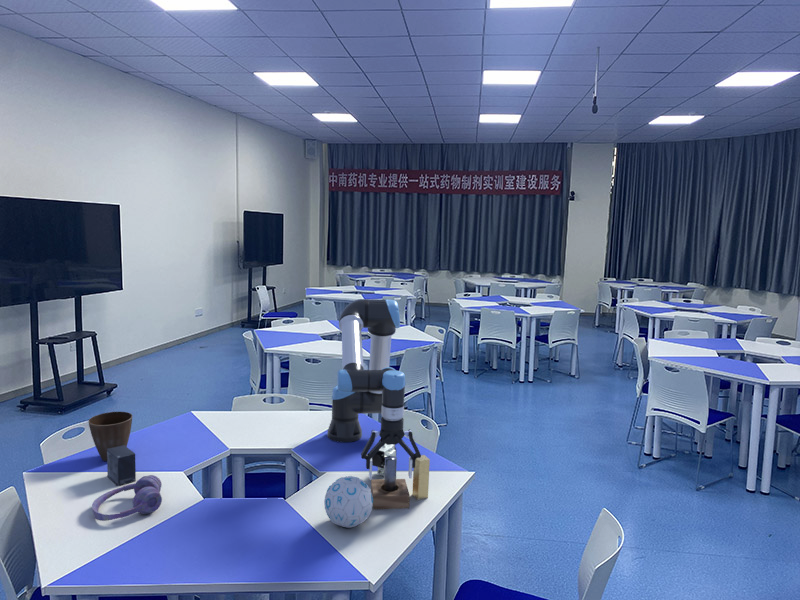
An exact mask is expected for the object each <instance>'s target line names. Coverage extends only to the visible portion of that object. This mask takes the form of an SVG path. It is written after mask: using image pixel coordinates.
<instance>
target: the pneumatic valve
mask: <svg viewBox="0 0 800 600" xmlns="http://www.w3.org/2000/svg"><path fill="white" fill-rule="evenodd" d="M386 456H395V457H396V458H397V448H396V445H393V444H391V445H387V444H385V445H384V446H382V447H381V448H380V449H379V450H378V451H377V453H376V454H375V455H374V456H373V457H372V467H373V466H374V467H377V474H378V475H377V476H381V477H382V476H383V477H384V475H385V457H386Z"/></svg>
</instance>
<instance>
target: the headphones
mask: <svg viewBox="0 0 800 600" xmlns="http://www.w3.org/2000/svg"><path fill="white" fill-rule="evenodd" d="M162 486H163V485H162V481H161V479H160V478H159V477H158V476H156V475H153V474H150V475H143V476H142V477H141V478H139V479H137V480H136V481H135V483H134V482H133V483H129V484H125V485H124V486H123V485H122V487H121V486H120V487H118V488H115V489H112V490H110V491H107V492H105V493H103V494H101V495H100V496H98V497H97V498H96V499H94V501H93V502H92V504H91V510H92V513H93V517H94V519H95V520H97V521H103V522H104V521H106V522H107V521H113V520H117V519H120V518H121V519H122V518H123V519H124V518H126V517H129V516H132V515H135V514H137V513H138V514H142V515H149V514H150V513H151V514H152V513H154V512H156V511H157V510H158V509H159V508H160V507H161V505H162V502H163V501H162V500H163V497H162V495H161V489H162ZM130 490H133V491H134V497H133V499H132V508H129V509H126V510H123V511H120V512H119V513H114V514H105V513H101V512H99V509H100V506H101V505H102V504H104V502H106V501H107V500H108V499H110V498H111V497H113V496H115V495H117V494H119V493H121V492H126V491H130Z"/></svg>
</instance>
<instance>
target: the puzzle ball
mask: <svg viewBox="0 0 800 600" xmlns="http://www.w3.org/2000/svg"><path fill="white" fill-rule="evenodd" d="M324 509H325V513H326V515H327V517H328V518H329V521H331V523H333V524H334V525H337V526H340V527H342V528H346V529H350V528H354V527H356V526H359V525H360V524H362V523H364V522H365V521H367V520H366V519H368V518H369V516H370V514H371V511H372V510H373V497H372V493H371V487H370V486H369V485H368V484H367V483H366V482H365V481H364V480H363V479H360V478H359V477H357V476H352V475H348V476H346V475H345V476H343V477H340V478H338V479H336V480H335V481H334V482H332V483H331V485H329V487H328V488H327V489H326V492H325V495H324Z"/></svg>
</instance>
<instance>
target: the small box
mask: <svg viewBox="0 0 800 600" xmlns="http://www.w3.org/2000/svg"><path fill="white" fill-rule="evenodd" d="M106 462H107V465H106V466H107V467H106V469H107V470H106V471H107V478H108V479H109V480H110V481H112V483H114V484H115V485H116V486H117V487H121V486H123V485H124V486H125V485H128V484H131V483H134V482H137V479H136V478H137V477H136V476H137V475H136V472H137V471H136V452H134V451H133V450H132V449H130V448H128V446H127V447H126V446H125V445H122V446H118V447H114V448H109V449H107V461H106Z"/></svg>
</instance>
